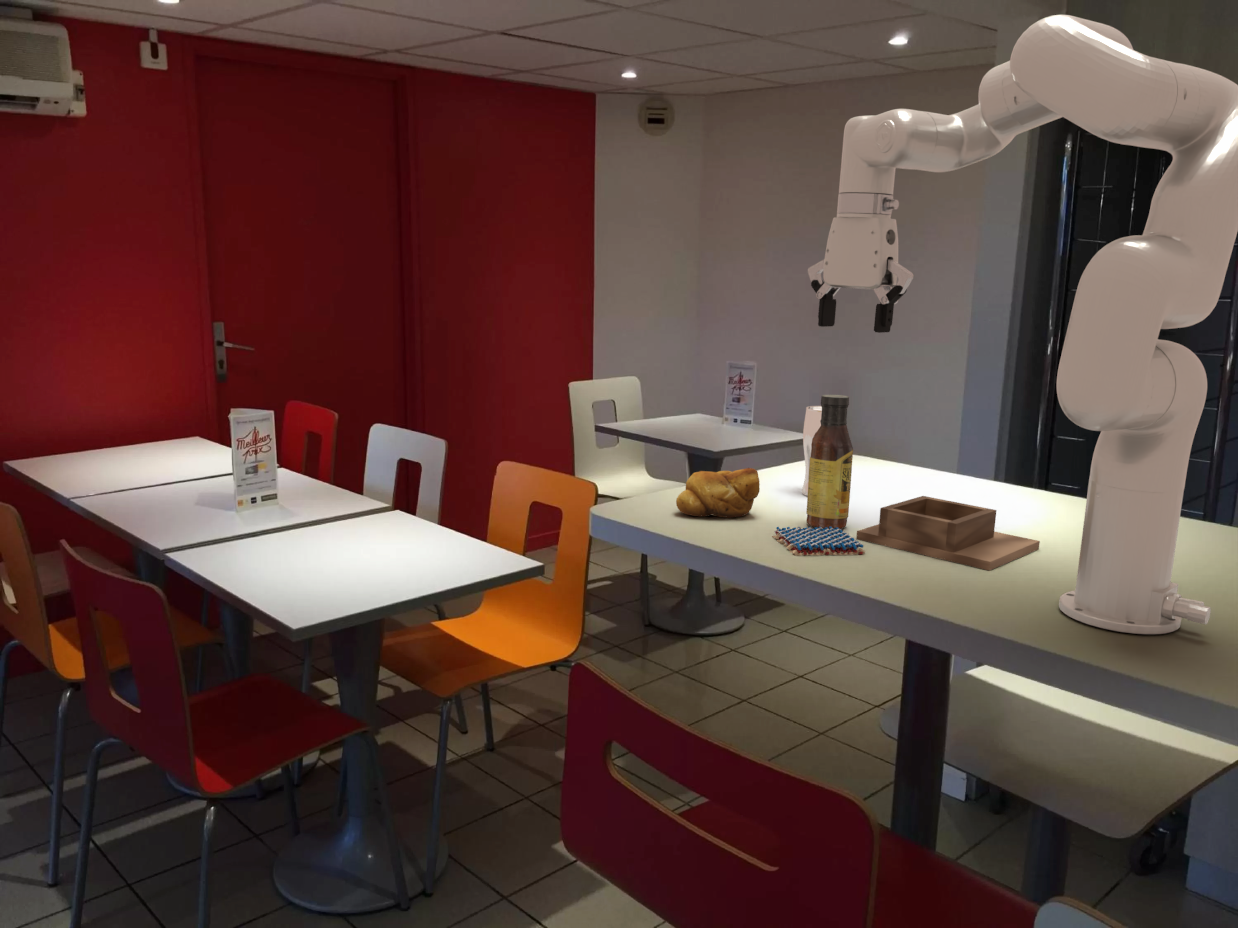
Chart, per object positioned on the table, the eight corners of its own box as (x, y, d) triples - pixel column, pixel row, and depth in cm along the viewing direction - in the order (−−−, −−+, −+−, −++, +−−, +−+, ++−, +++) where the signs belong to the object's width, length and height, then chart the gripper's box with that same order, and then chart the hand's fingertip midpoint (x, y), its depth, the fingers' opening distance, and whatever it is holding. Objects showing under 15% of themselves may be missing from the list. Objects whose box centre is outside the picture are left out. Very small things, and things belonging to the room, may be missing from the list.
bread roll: (681, 521, 153) (683, 470, 152) (667, 506, 162) (669, 457, 161) (762, 520, 155) (766, 469, 154) (744, 506, 165) (747, 457, 163)
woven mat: (838, 538, 148) (839, 524, 148) (866, 559, 138) (868, 544, 138) (769, 538, 147) (770, 525, 146) (793, 560, 136) (794, 545, 136)
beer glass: (791, 491, 176) (796, 406, 173) (824, 488, 179) (830, 405, 176) (814, 500, 170) (821, 412, 167) (848, 497, 173) (855, 410, 170)
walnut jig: (1038, 549, 144) (1042, 513, 143) (989, 570, 132) (993, 532, 131) (910, 521, 157) (913, 489, 156) (856, 538, 146) (859, 503, 145)
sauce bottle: (847, 533, 149) (858, 399, 145) (804, 529, 150) (814, 397, 147) (847, 522, 156) (856, 394, 152) (805, 519, 157) (814, 392, 153)
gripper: (932, 210, 140) (919, 334, 143) (830, 209, 152) (820, 323, 156) (902, 206, 135) (890, 335, 138) (799, 206, 147) (790, 324, 151)
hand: (853, 329), depth 147 cm, fingers open, 9 cm apart
